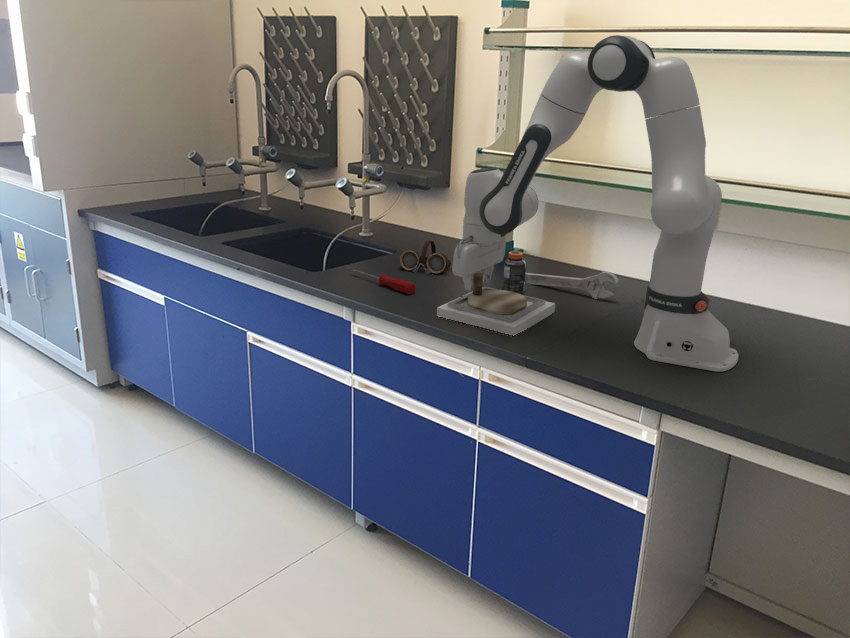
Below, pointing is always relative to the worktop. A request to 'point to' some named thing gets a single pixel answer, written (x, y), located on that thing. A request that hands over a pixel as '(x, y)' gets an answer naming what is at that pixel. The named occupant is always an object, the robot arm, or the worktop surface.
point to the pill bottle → (514, 272)
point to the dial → (495, 299)
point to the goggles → (425, 260)
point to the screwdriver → (394, 283)
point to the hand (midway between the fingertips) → (477, 285)
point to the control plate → (497, 322)
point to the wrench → (577, 283)
